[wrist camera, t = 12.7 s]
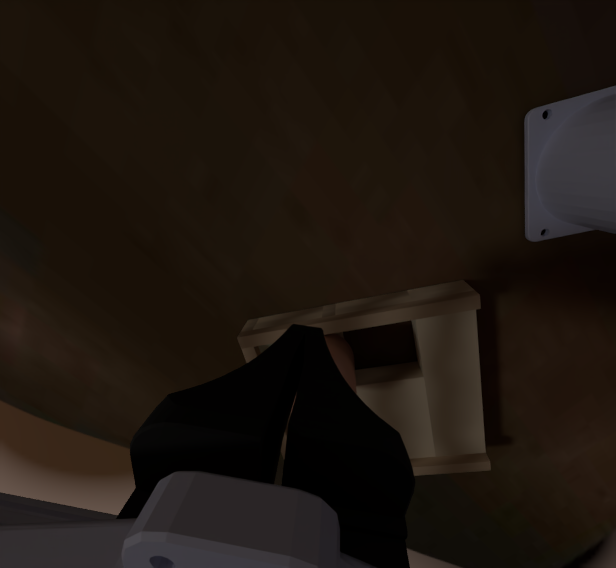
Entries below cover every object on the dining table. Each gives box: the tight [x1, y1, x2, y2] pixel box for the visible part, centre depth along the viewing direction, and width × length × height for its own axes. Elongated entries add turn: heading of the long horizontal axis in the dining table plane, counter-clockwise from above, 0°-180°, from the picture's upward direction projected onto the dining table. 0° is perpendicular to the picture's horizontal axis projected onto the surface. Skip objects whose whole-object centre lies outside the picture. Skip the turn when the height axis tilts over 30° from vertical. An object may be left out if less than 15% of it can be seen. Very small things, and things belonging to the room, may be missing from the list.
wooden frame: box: [237, 280, 491, 476], centre depth 24 cm, size 17×16×3 cm
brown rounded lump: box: [291, 333, 357, 412], centre depth 21 cm, size 5×5×4 cm
